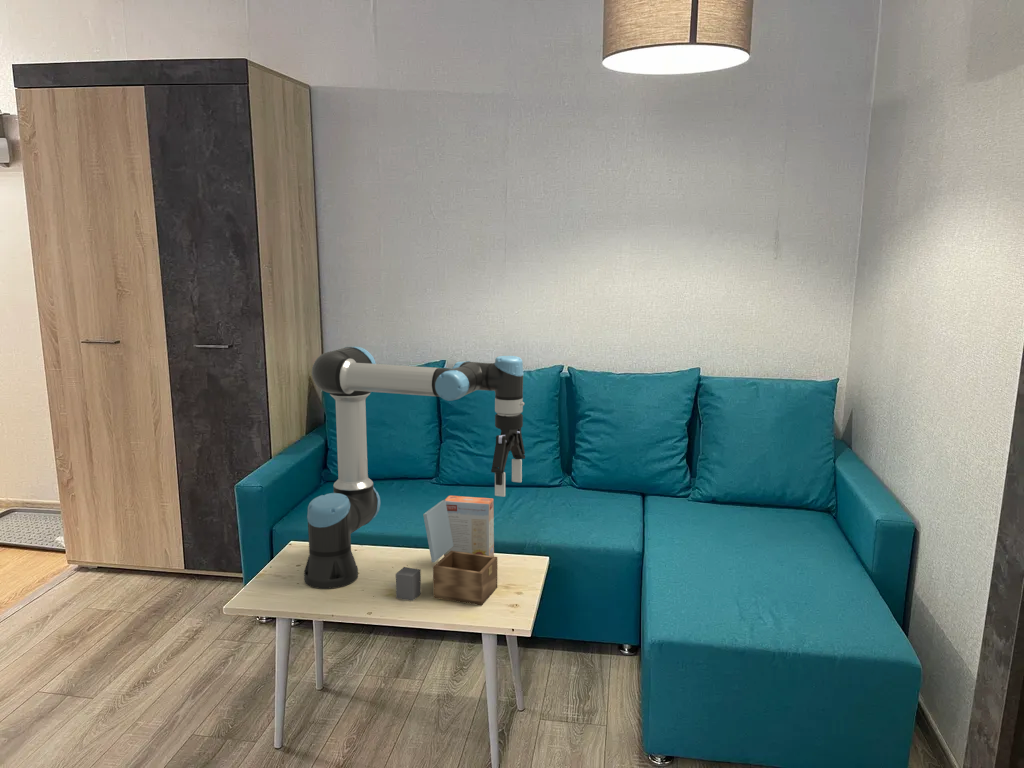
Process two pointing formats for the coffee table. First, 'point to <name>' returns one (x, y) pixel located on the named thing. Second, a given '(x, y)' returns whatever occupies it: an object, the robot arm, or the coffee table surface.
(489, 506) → the cracker box
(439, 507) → the lid
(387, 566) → the coffee table surface
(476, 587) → the keepsake box
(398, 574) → the block
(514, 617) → the coffee table surface
